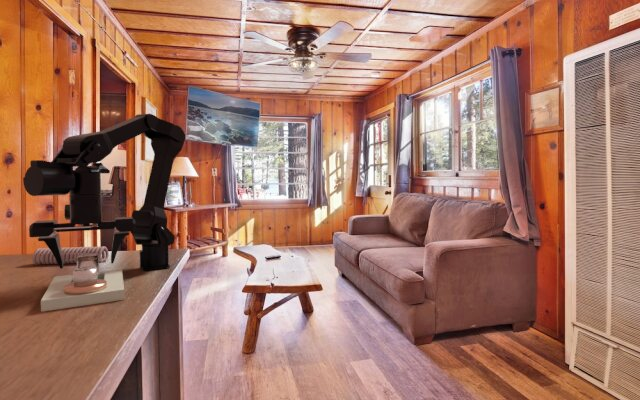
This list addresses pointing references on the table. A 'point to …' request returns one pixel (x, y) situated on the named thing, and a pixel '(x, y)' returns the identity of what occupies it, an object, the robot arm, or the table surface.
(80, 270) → the copper flanged knob
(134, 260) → the table surface
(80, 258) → the loose cylinder
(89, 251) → the coil
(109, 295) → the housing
